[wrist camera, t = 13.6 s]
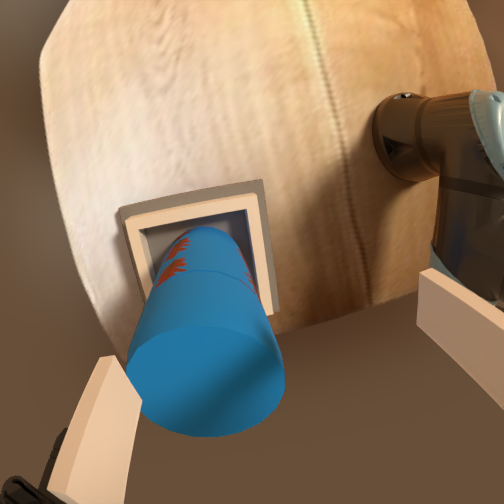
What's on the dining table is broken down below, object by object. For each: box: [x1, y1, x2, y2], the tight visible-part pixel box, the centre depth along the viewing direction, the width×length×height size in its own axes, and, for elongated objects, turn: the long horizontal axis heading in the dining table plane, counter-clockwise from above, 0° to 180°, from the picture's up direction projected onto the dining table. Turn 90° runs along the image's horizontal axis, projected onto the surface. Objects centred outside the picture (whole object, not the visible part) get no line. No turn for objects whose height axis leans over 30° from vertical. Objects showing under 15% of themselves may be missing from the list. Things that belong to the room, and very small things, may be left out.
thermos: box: [126, 226, 285, 437], centre depth 28 cm, size 11×11×25 cm
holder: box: [119, 179, 280, 316], centre depth 40 cm, size 20×20×4 cm
